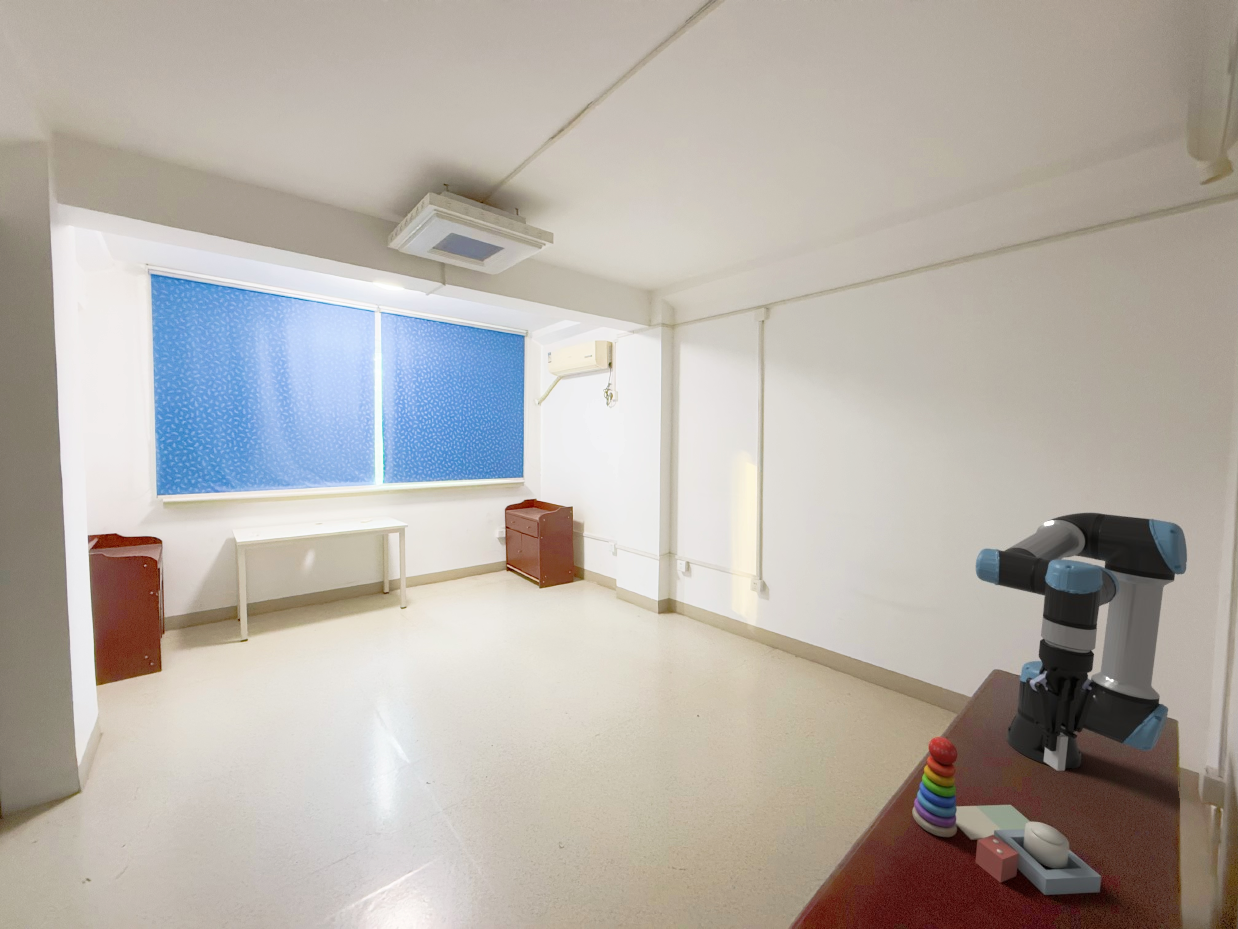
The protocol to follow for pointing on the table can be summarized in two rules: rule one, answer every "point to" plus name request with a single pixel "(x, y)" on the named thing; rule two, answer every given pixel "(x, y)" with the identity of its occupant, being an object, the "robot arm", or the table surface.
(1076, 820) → the table surface
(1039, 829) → the dome button
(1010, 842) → the dome base
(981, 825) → the square
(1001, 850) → the pink rectangular block
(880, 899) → the table surface
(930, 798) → the stacking toy
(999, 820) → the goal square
